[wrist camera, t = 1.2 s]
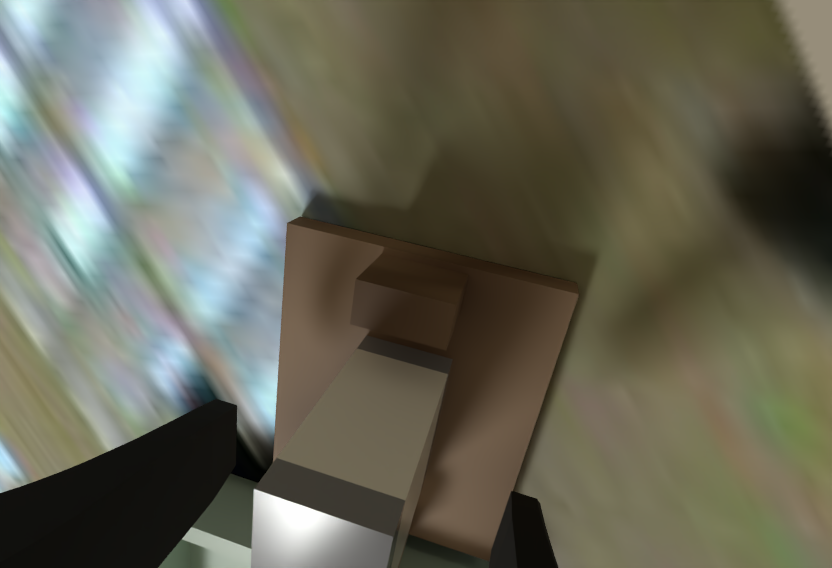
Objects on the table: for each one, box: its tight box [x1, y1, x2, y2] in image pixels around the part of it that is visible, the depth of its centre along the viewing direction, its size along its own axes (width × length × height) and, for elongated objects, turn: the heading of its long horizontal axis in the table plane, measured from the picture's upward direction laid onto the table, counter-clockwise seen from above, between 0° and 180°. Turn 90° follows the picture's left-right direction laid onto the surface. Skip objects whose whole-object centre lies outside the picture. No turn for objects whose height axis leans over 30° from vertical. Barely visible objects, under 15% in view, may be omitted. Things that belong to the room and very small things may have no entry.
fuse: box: [251, 335, 453, 568], centre depth 12 cm, size 3×4×6 cm, turn 171°
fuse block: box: [273, 217, 579, 568], centre depth 14 cm, size 8×10×3 cm
